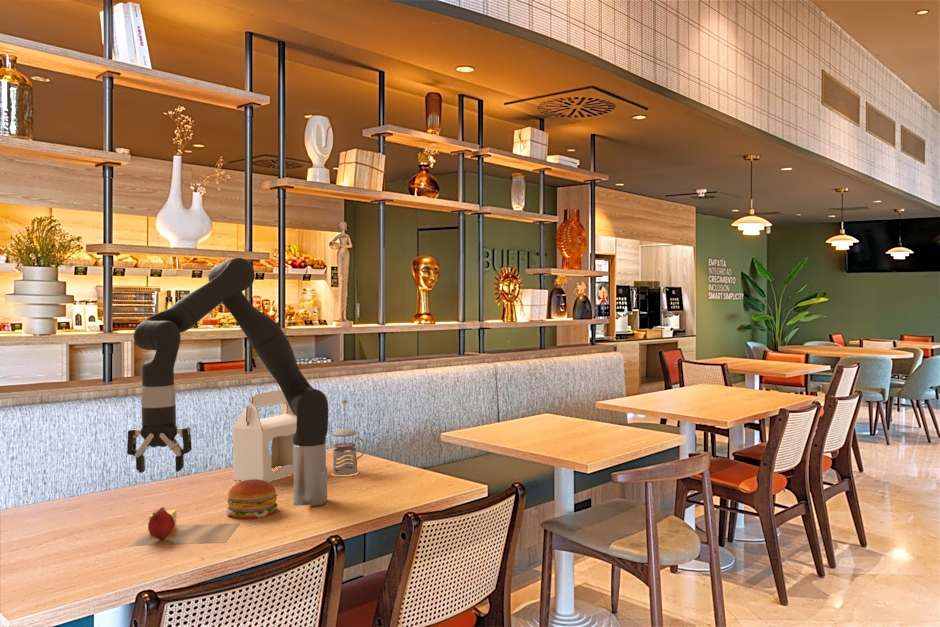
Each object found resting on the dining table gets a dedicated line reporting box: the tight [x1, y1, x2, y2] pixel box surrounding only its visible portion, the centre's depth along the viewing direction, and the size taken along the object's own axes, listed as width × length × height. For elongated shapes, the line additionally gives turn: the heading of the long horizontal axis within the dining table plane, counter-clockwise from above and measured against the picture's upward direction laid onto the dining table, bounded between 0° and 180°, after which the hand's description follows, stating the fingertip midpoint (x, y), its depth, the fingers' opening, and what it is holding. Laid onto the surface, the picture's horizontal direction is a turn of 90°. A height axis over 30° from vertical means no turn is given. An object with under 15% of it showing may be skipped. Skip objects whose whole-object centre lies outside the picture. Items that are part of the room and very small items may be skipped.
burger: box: [226, 479, 279, 520], centre depth 201 cm, size 14×14×10 cm
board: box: [130, 522, 241, 547], centre depth 181 cm, size 22×18×1 cm
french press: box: [331, 399, 366, 475], centre depth 250 cm, size 10×12×25 cm
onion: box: [147, 506, 175, 540], centre depth 178 cm, size 6×6×8 cm
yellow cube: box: [148, 508, 178, 534], centre depth 185 cm, size 5×5×5 cm
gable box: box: [232, 389, 297, 483], centre depth 248 cm, size 22×13×28 cm, turn 152°
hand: (160, 471), depth 178 cm, fingers open, 8 cm apart
